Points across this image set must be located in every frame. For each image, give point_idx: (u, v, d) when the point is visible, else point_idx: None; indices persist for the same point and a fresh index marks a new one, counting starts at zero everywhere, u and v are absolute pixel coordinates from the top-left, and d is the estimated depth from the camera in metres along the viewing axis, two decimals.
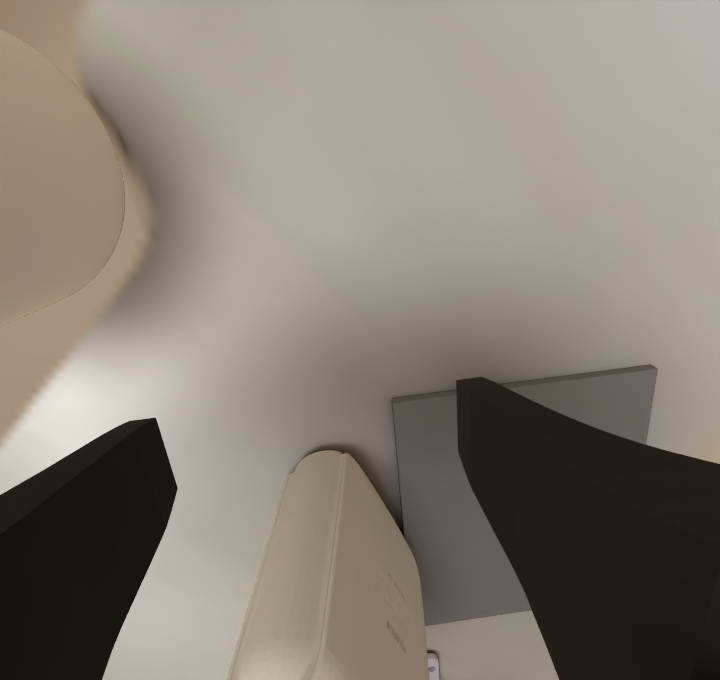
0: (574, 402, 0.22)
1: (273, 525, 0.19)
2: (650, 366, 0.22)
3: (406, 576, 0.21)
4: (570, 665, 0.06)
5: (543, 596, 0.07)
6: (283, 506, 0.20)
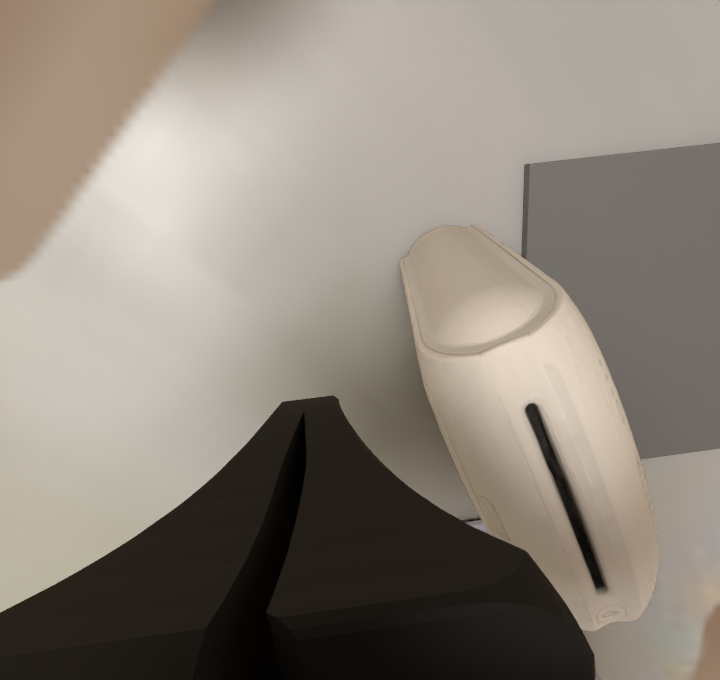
0: None
1: (405, 277, 0.16)
2: None
3: None
4: None
5: None
6: (410, 268, 0.17)
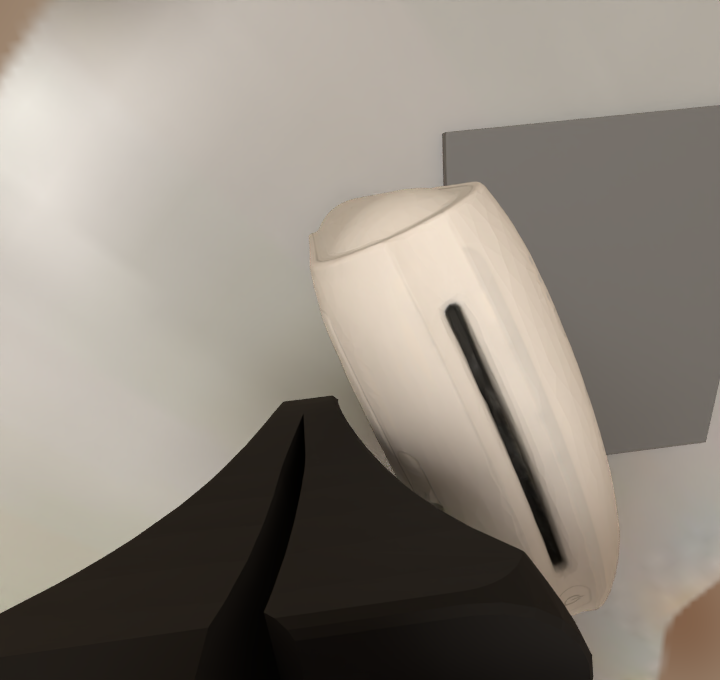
0: (673, 146, 0.17)
1: (311, 239, 0.14)
2: None
3: None
4: None
5: None
6: (318, 234, 0.15)
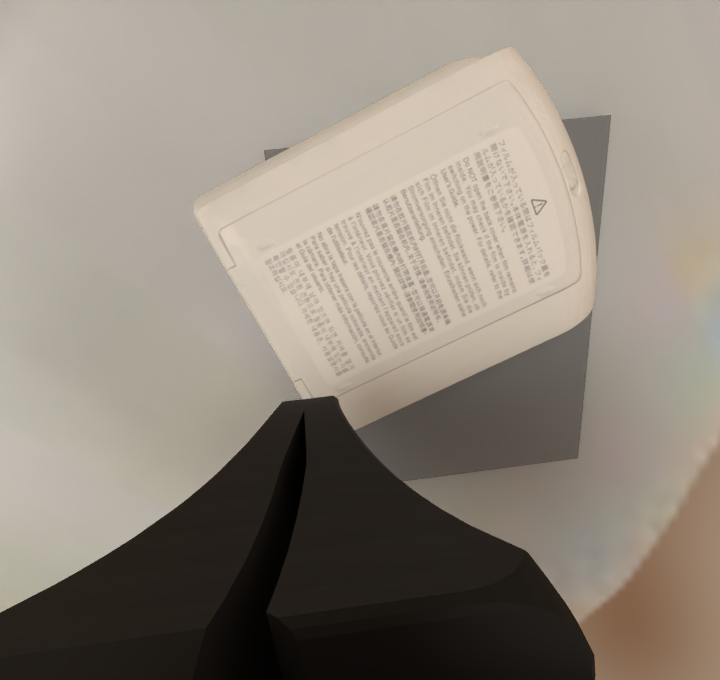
0: None
1: (294, 157, 0.13)
2: (602, 116, 0.17)
3: None
4: None
5: None
6: None
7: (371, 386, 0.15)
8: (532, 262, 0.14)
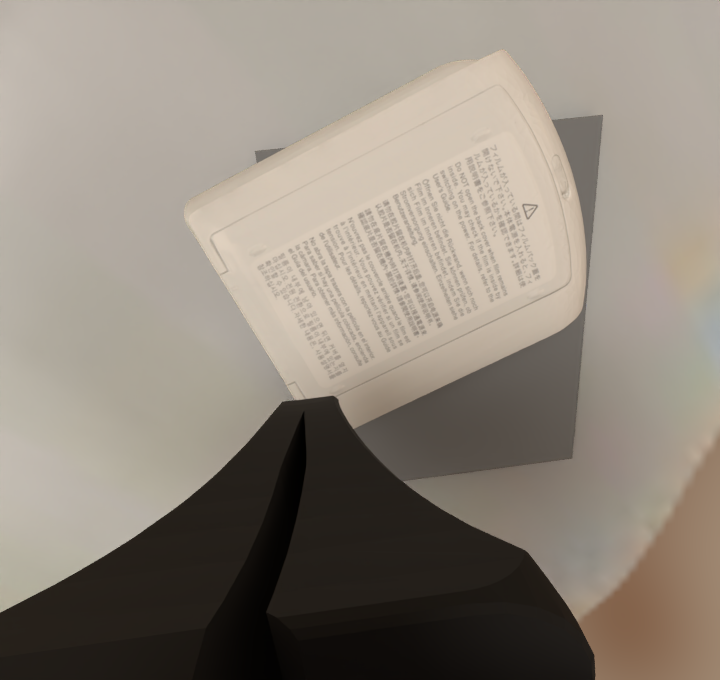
0: None
1: (286, 162, 0.13)
2: (594, 116, 0.17)
3: None
4: None
5: None
6: None
7: (364, 389, 0.15)
8: (523, 265, 0.14)
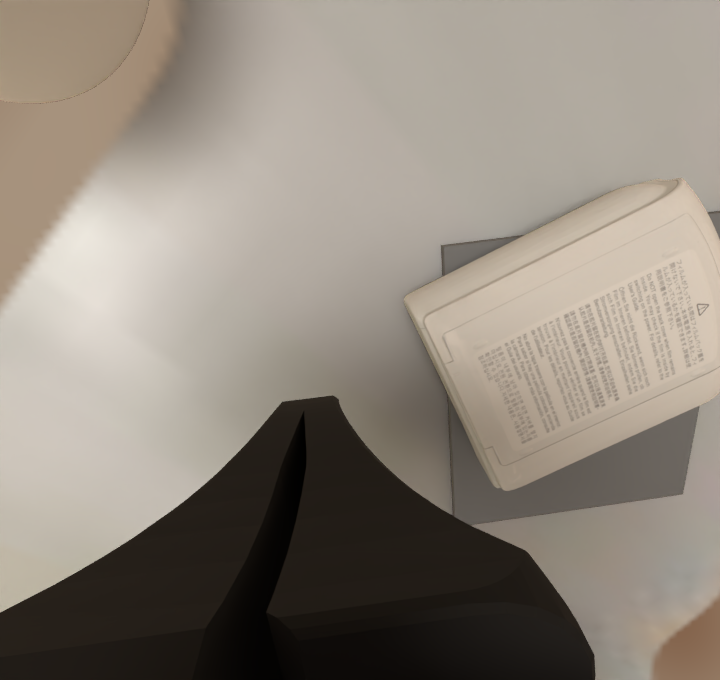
0: None
1: (508, 274, 0.16)
2: None
3: None
4: None
5: None
6: (480, 286, 0.16)
7: (548, 450, 0.18)
8: (691, 351, 0.17)
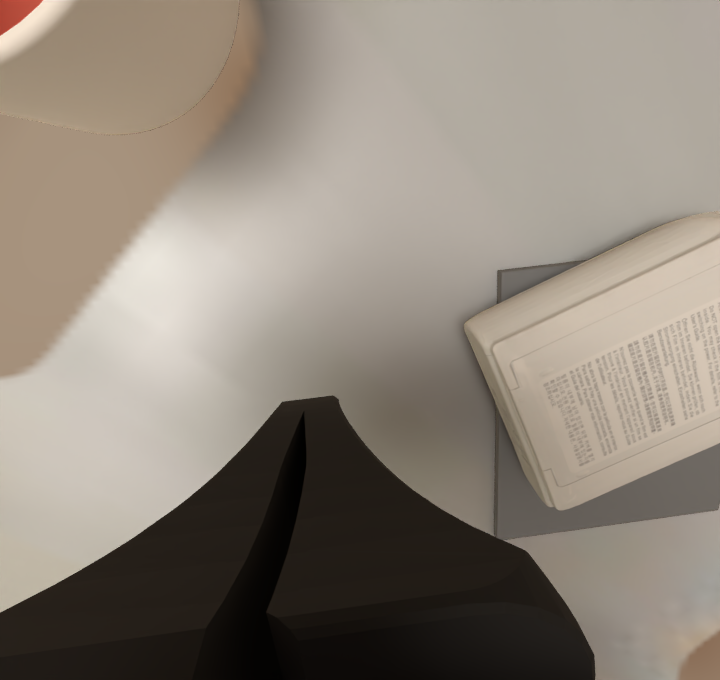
0: None
1: (575, 305, 0.16)
2: None
3: None
4: None
5: None
6: (547, 315, 0.17)
7: (603, 472, 0.19)
8: None
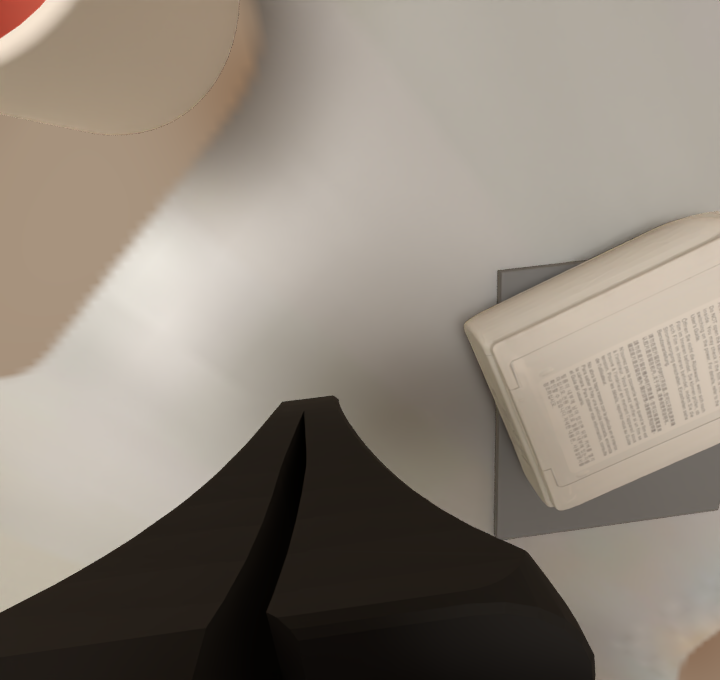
0: None
1: (575, 305, 0.16)
2: None
3: None
4: None
5: None
6: (547, 315, 0.17)
7: (603, 472, 0.19)
8: None
